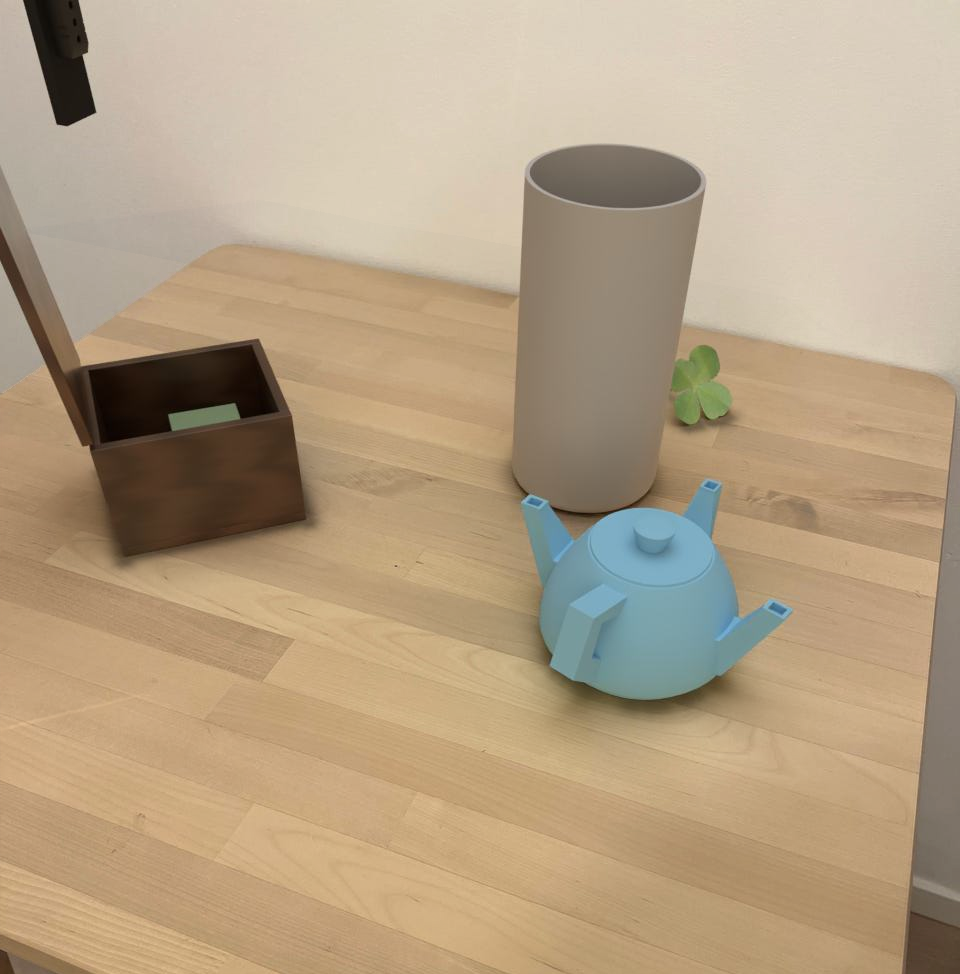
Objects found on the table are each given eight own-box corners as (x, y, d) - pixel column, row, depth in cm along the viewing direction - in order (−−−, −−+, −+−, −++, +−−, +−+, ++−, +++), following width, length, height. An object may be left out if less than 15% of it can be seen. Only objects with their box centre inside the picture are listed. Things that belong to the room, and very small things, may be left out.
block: (181, 470, 83) (167, 414, 79) (245, 458, 84) (235, 402, 80) (190, 507, 79) (176, 450, 75) (257, 494, 80) (247, 437, 76)
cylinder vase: (662, 519, 80) (720, 211, 62) (512, 516, 80) (527, 208, 62) (646, 435, 89) (692, 145, 71) (510, 432, 89) (522, 142, 71)
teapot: (511, 578, 75) (517, 462, 67) (699, 562, 76) (726, 447, 69) (550, 730, 64) (562, 612, 56) (767, 707, 66) (808, 590, 58)
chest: (274, 437, 88) (258, 337, 81) (306, 518, 79) (292, 415, 72) (108, 468, 84) (76, 366, 77) (123, 557, 76) (90, 451, 69)
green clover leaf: (672, 443, 97) (717, 441, 91) (615, 404, 93) (658, 399, 87) (700, 379, 97) (746, 373, 92) (644, 337, 93) (688, 328, 88)
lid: (-5, 154, 65) (-17, 156, 65) (-1, 225, 57) (-15, 228, 57) (80, 360, 77) (70, 362, 77) (93, 444, 68) (82, 447, 68)
